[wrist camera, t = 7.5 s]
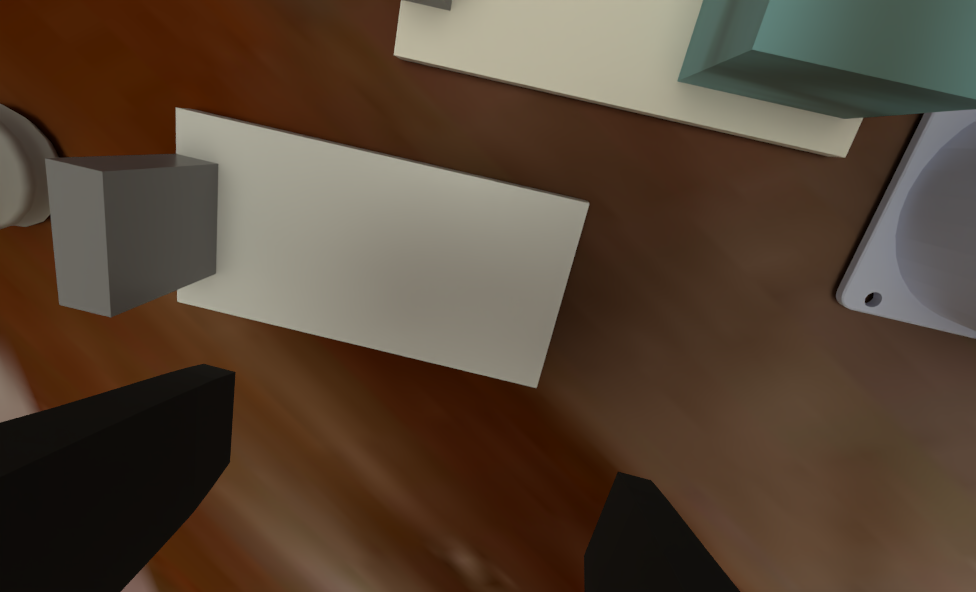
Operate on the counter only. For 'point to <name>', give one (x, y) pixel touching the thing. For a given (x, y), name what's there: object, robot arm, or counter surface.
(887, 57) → the teal block
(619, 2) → the cream strip
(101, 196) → the cream and grey bookend
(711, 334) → the counter surface
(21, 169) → the rook chess piece
